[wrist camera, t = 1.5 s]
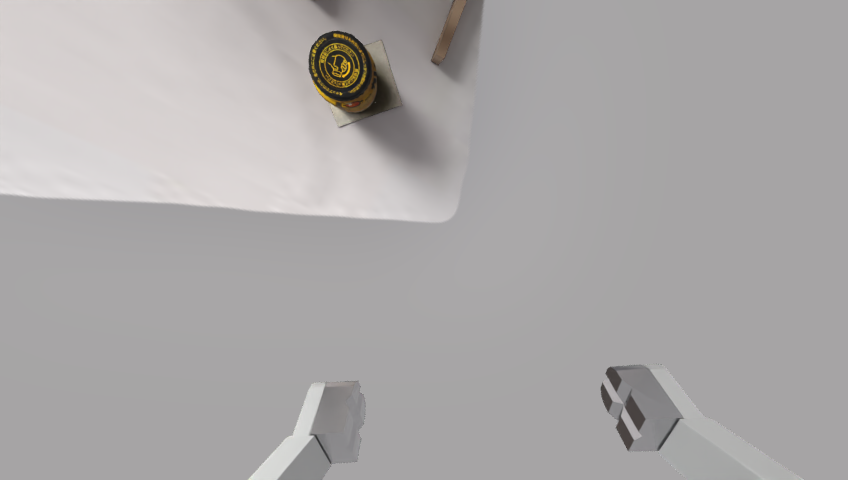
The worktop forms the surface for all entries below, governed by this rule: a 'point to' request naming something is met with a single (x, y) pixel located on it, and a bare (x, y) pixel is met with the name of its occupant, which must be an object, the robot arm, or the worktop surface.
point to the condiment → (352, 76)
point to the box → (448, 31)
